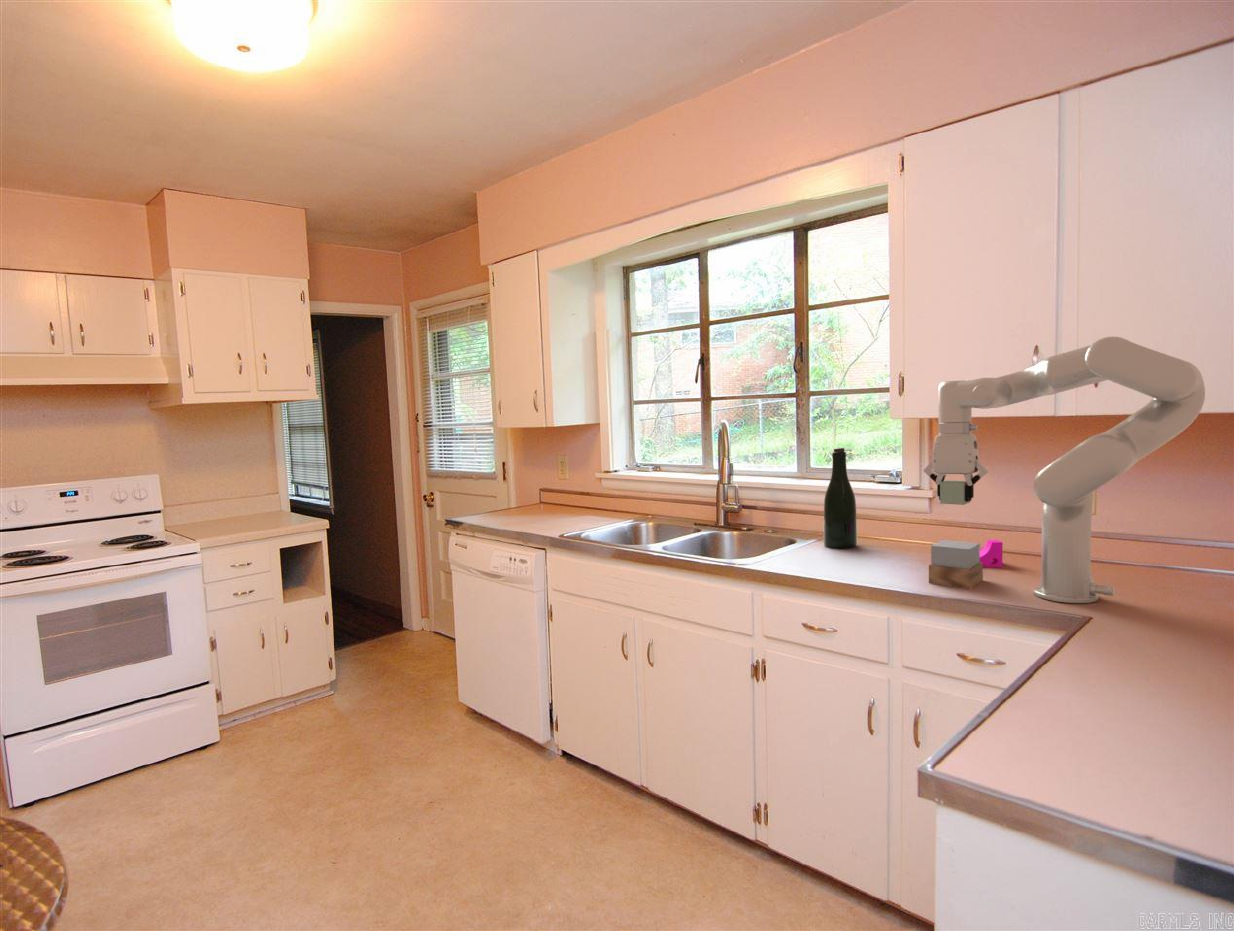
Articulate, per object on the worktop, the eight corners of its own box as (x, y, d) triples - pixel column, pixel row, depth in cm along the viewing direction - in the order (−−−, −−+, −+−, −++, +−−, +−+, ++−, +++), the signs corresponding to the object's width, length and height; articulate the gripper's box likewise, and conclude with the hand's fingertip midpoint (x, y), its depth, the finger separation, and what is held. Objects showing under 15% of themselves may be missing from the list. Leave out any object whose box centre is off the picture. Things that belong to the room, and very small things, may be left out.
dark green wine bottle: (824, 544, 227) (822, 447, 224) (857, 544, 223) (855, 446, 221) (823, 550, 217) (821, 449, 214) (857, 551, 213) (856, 448, 211)
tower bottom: (982, 581, 172) (982, 562, 172) (971, 589, 165) (971, 570, 165) (941, 576, 179) (941, 558, 179) (928, 584, 172) (928, 565, 172)
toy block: (994, 564, 190) (994, 538, 190) (1002, 569, 184) (1002, 542, 184) (937, 563, 193) (937, 538, 193) (944, 568, 187) (943, 542, 187)
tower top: (979, 562, 172) (979, 543, 172) (969, 569, 166) (969, 549, 165) (942, 558, 178) (942, 539, 178) (931, 564, 172) (931, 545, 171)
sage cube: (970, 502, 171) (970, 480, 170) (963, 504, 167) (963, 483, 166) (947, 501, 175) (947, 480, 174) (940, 503, 171) (940, 482, 170)
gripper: (996, 428, 166) (996, 500, 167) (925, 429, 178) (925, 496, 179) (987, 429, 161) (987, 504, 162) (914, 430, 173) (915, 500, 174)
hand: (955, 499), depth 171 cm, fingers closed on sage cube, 5 cm apart
